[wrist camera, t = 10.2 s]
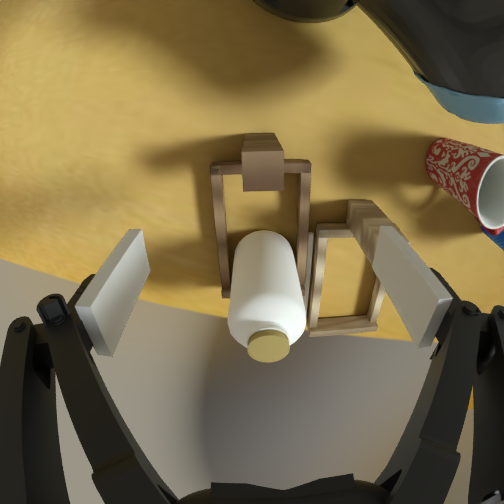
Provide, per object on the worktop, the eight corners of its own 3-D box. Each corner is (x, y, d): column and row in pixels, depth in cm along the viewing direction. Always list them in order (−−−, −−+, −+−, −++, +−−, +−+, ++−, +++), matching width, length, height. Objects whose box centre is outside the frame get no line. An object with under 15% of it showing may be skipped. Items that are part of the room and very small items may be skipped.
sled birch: (318, 199, 38) (341, 243, 28) (397, 201, 38) (440, 241, 27) (307, 324, 49) (317, 380, 39) (371, 319, 49) (391, 370, 39)
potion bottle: (222, 248, 42) (206, 343, 27) (270, 216, 40) (281, 304, 24) (257, 285, 46) (258, 383, 30) (302, 258, 43) (326, 353, 28)
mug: (410, 147, 34) (469, 177, 22) (454, 122, 31) (517, 143, 20) (436, 218, 39) (484, 264, 28) (474, 192, 37) (527, 229, 25)
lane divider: (307, 232, 41) (308, 234, 40) (312, 232, 41) (313, 234, 40) (301, 316, 49) (301, 320, 48) (305, 316, 49) (305, 319, 48)
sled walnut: (210, 135, 34) (190, 155, 23) (308, 133, 33) (333, 151, 23) (223, 285, 45) (216, 344, 35) (302, 283, 45) (314, 341, 34)
